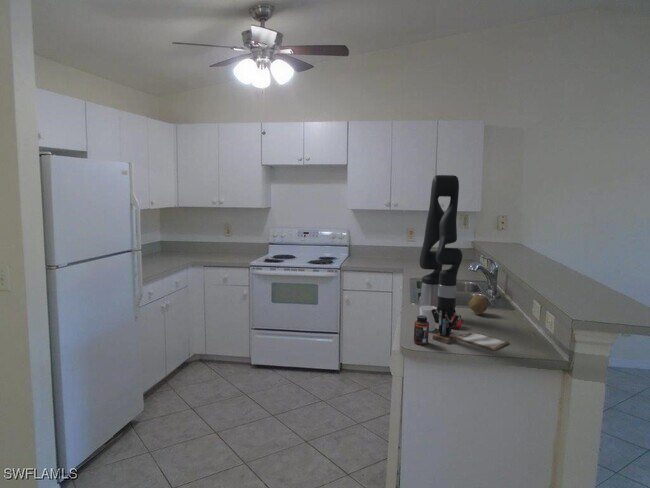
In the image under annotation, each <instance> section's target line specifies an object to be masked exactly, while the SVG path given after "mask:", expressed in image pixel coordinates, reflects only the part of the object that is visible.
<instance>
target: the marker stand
mask: <svg viewBox="0 0 650 488" xmlns="http://www.w3.org/2000/svg"><path fill="white" fill-rule="evenodd" d="M456 337H457V335H454V334H452V333H451V334H450V335H449V336H448V337H443V336H442V334H440V332H437V333H434V334H433V335H432V340H433V339H434V341H437V342H440V343H443V344H446V345H447V344H450V343H453V342H455V341H457V339H456Z"/></svg>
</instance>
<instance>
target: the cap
mask: <svg viewBox="0 0 650 488" xmlns="http://www.w3.org/2000/svg"><path fill="white" fill-rule="evenodd" d="M452 318H453V320H454V316H453V317H452ZM452 322H453V321H452ZM462 323H463V320H462V317H461V318H460V320H459V321H458V323H457V325H456V326H455V327H457V329H460V328H461V326H462Z"/></svg>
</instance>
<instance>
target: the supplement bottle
mask: <svg viewBox="0 0 650 488" xmlns="http://www.w3.org/2000/svg"><path fill="white" fill-rule="evenodd" d="M413 326H414V328H413V342H414V343H415V344H417V345H421V346H424V345H427V344H428V343H429V336H430V335H429V334H430V333H429V332H430V331H429V322H427V316H423V315H419V314H418V315H417V318H416V320H415V321H414V325H413Z"/></svg>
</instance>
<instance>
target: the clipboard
mask: <svg viewBox="0 0 650 488" xmlns="http://www.w3.org/2000/svg"><path fill="white" fill-rule="evenodd" d="M456 341H461V342H464V343H466V344H470V345H474V346H477V347H479V348H483V349H486V350H489V351H493V352H495V351H497V350H499V349H501V348H504V347H506V346H508V345H510V341H506V340H503V339H499V338H495V337H492V336H490V335H489V336H488V335H486V334H481V333H479V332H475V331H471V330H470V331H465V332H463V333H460V334H459V335H456Z"/></svg>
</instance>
